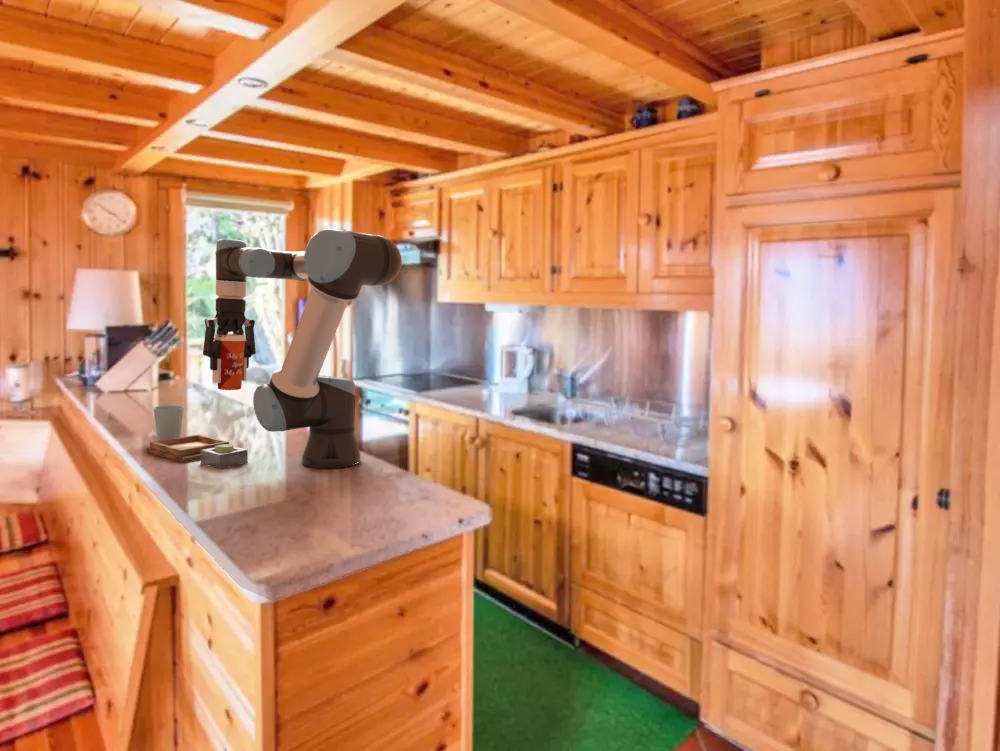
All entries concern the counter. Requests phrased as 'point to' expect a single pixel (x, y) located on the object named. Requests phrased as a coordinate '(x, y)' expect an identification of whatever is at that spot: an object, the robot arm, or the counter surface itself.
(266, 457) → the counter surface
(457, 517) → the counter surface
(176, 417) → the cup
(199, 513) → the counter surface
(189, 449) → the wooden tray
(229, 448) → the button
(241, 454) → the button housing
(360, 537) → the counter surface
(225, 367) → the coffee cup
